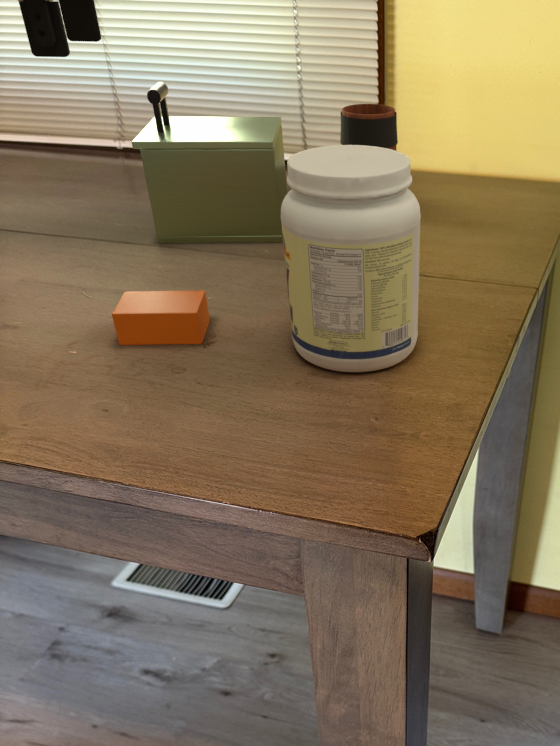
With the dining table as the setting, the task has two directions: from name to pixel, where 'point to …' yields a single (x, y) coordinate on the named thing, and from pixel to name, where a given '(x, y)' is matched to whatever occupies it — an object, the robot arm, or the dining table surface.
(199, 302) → the orange block
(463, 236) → the dining table surface
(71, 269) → the dining table surface
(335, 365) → the supplement tub
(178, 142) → the bin lid
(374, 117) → the mug
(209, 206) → the bin
